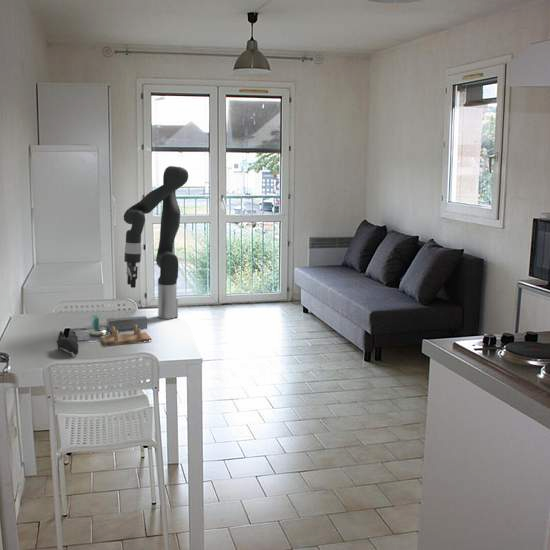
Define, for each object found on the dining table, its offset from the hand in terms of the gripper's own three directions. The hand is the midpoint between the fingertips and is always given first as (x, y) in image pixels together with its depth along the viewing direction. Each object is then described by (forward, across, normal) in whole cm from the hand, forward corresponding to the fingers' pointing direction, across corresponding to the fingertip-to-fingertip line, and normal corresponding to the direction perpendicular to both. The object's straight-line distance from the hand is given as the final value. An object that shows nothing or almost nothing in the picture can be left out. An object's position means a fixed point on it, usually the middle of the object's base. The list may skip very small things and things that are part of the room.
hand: (131, 285), depth 336 cm
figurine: (+22, -36, +32) cm, 53 cm away
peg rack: (+20, -25, +6) cm, 33 cm away
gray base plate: (+21, -11, +19) cm, 30 cm away
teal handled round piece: (+20, -9, +16) cm, 27 cm away
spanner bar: (+20, -5, +2) cm, 20 cm away
